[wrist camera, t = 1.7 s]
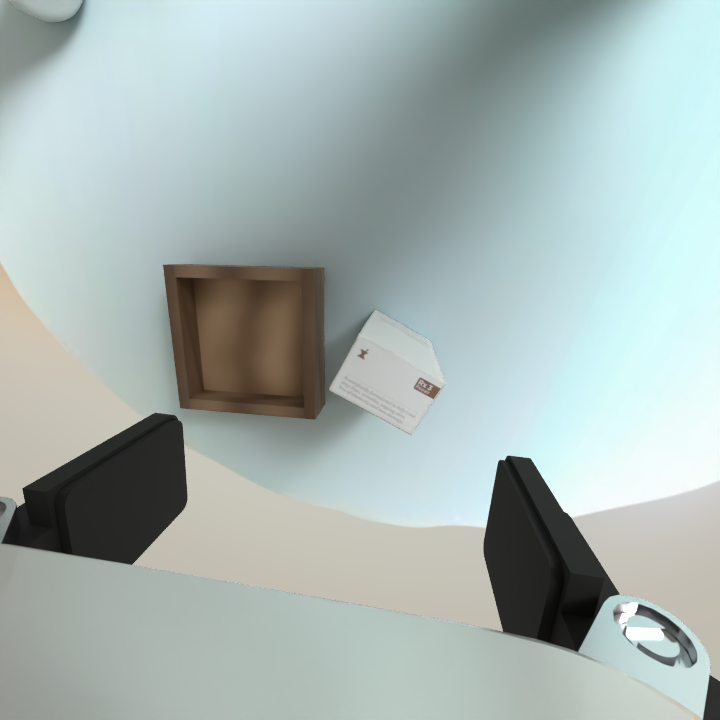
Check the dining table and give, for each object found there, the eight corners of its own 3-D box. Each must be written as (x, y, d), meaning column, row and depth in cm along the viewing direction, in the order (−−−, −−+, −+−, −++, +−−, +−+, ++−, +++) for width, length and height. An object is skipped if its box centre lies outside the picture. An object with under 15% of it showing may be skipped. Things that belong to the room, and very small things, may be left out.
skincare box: (352, 347, 34) (320, 393, 22) (376, 305, 32) (354, 330, 21) (410, 380, 34) (408, 442, 22) (436, 339, 32) (447, 383, 21)
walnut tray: (323, 267, 32) (313, 268, 29) (324, 404, 36) (315, 419, 32) (187, 264, 34) (163, 264, 31) (201, 394, 37) (180, 408, 34)
